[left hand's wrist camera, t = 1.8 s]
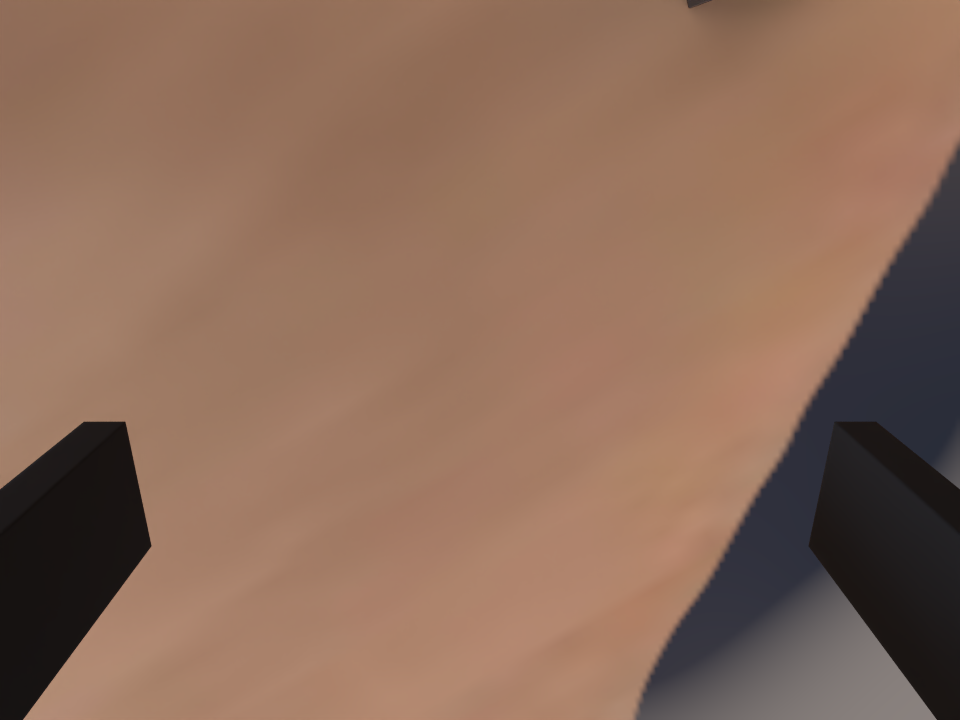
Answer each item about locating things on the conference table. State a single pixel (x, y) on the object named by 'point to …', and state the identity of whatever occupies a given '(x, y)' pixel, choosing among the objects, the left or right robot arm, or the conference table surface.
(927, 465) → the left robot arm
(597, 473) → the conference table surface
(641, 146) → the conference table surface
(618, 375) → the conference table surface
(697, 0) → the bar
